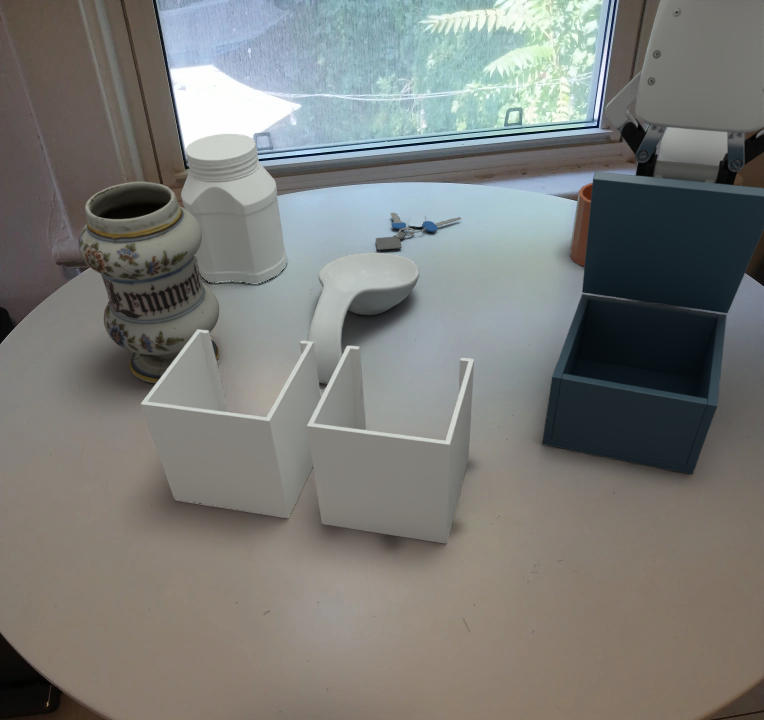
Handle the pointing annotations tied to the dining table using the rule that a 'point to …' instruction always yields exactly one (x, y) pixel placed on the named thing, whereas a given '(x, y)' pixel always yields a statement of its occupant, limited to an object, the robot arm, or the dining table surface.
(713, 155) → the water bottle
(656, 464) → the dark blue box base
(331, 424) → the white double open bin
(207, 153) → the jar
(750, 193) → the lid
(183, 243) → the apothecary jar
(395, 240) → the key chain
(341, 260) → the spoon rest
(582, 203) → the cup
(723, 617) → the dining table surface
